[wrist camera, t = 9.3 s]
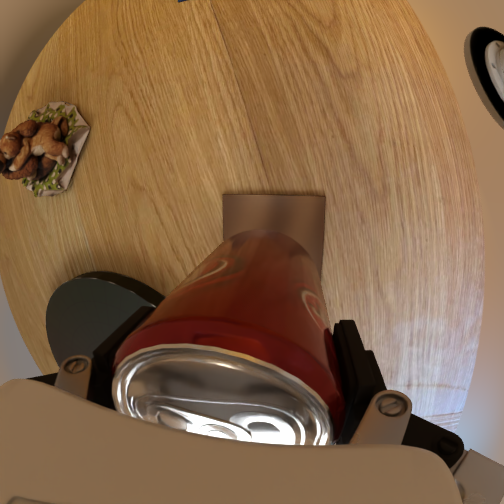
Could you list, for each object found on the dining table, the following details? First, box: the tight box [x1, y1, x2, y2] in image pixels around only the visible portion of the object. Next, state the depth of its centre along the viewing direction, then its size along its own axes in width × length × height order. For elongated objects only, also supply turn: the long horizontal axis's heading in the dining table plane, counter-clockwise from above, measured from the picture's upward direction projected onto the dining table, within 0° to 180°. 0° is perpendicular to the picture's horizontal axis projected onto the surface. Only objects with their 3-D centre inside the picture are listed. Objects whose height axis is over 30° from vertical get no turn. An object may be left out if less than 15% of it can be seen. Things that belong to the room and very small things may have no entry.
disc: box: [46, 271, 166, 368], centre depth 34 cm, size 30×30×3 cm
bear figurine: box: [0, 101, 90, 197], centre depth 23 cm, size 14×15×12 cm
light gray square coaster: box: [223, 194, 325, 282], centre depth 28 cm, size 10×10×1 cm
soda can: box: [110, 229, 346, 445], centre depth 12 cm, size 7×7×12 cm
